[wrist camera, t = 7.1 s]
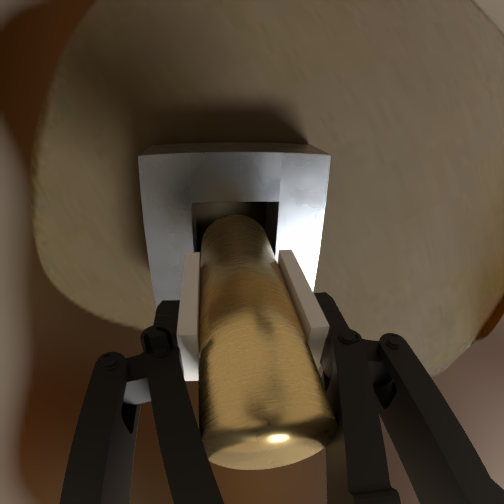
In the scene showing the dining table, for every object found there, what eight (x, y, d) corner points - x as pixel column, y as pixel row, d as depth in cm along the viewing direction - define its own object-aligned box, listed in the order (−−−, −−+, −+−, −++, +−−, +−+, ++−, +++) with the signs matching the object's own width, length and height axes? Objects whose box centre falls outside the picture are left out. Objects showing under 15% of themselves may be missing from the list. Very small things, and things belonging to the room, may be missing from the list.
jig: (151, 145, 21) (137, 155, 17) (310, 144, 23) (330, 155, 19) (163, 282, 27) (157, 314, 23) (296, 277, 28) (310, 307, 24)
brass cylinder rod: (200, 215, 19) (191, 415, 7) (269, 214, 20) (353, 398, 8) (202, 275, 21) (206, 472, 9) (265, 272, 22) (322, 459, 10)
